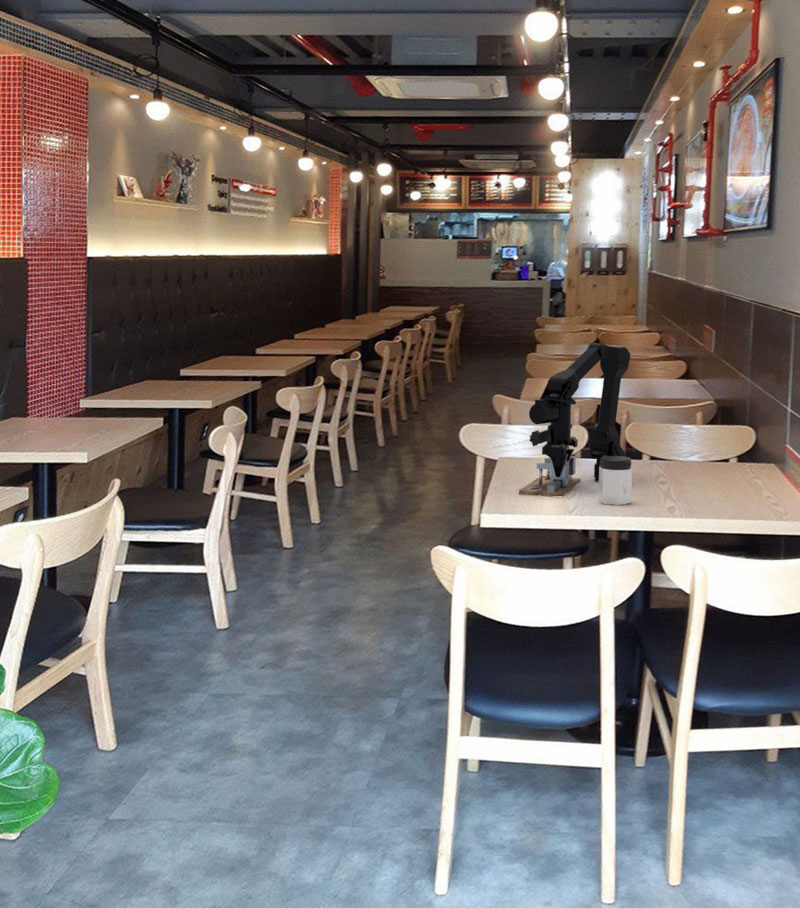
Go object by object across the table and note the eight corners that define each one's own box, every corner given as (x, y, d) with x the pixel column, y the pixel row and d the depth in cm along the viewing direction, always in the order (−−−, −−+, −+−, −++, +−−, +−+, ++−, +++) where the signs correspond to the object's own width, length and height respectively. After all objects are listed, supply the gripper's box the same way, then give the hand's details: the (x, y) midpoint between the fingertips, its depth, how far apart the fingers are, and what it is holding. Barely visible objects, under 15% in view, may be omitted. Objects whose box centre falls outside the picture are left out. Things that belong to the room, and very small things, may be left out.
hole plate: (580, 481, 343) (580, 477, 343) (561, 497, 320) (561, 492, 320) (540, 479, 347) (540, 475, 347) (519, 494, 324) (519, 490, 324)
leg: (568, 484, 331) (569, 460, 330) (565, 486, 328) (566, 462, 327) (538, 482, 334) (539, 458, 333) (535, 484, 331) (535, 460, 330)
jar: (613, 506, 307) (614, 461, 305) (591, 501, 314) (593, 457, 312) (637, 502, 312) (639, 458, 310) (616, 497, 318) (617, 454, 317)
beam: (576, 479, 341) (576, 455, 340) (558, 493, 320) (559, 468, 319) (546, 477, 344) (547, 454, 343) (527, 491, 323) (528, 466, 322)
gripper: (540, 416, 339) (539, 468, 341) (524, 424, 322) (523, 479, 324) (578, 417, 335) (577, 471, 338) (564, 425, 318) (562, 482, 320)
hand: (559, 475), depth 330 cm, fingers closed on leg, 4 cm apart
